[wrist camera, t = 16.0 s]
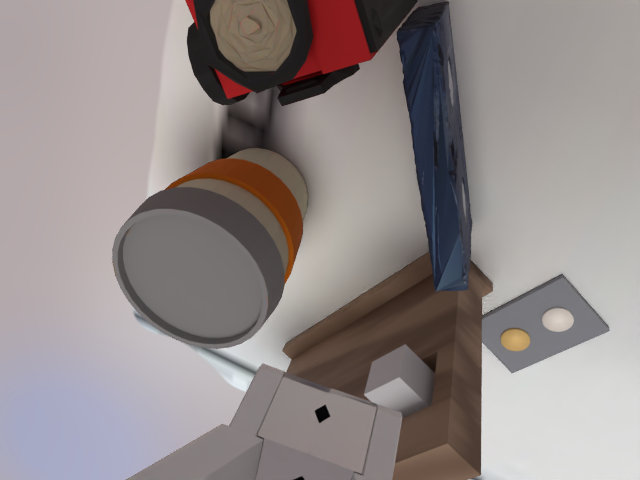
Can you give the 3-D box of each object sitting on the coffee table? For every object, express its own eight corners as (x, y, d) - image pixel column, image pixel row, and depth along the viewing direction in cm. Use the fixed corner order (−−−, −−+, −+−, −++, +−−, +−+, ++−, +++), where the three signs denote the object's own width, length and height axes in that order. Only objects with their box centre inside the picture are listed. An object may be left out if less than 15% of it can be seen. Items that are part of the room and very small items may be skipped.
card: (608, 327, 47) (610, 332, 46) (512, 369, 52) (512, 375, 51) (562, 274, 45) (563, 279, 45) (467, 323, 51) (467, 328, 50)
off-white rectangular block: (476, 403, 38) (475, 449, 35) (433, 421, 40) (429, 466, 37) (410, 337, 36) (403, 379, 33) (369, 360, 39) (358, 401, 35)
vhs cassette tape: (413, 6, 38) (394, 29, 29) (456, -2, 37) (448, 20, 28) (437, 227, 46) (427, 293, 38) (472, 225, 45) (470, 292, 37)
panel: (492, 283, 48) (497, 490, 30) (322, 377, 60) (256, 563, 42) (450, 238, 46) (430, 426, 29) (285, 343, 58) (202, 520, 41)
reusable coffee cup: (250, 99, 45) (161, 167, 32) (355, 198, 47) (308, 297, 34) (178, 187, 51) (82, 271, 39) (272, 270, 54) (209, 375, 41)
